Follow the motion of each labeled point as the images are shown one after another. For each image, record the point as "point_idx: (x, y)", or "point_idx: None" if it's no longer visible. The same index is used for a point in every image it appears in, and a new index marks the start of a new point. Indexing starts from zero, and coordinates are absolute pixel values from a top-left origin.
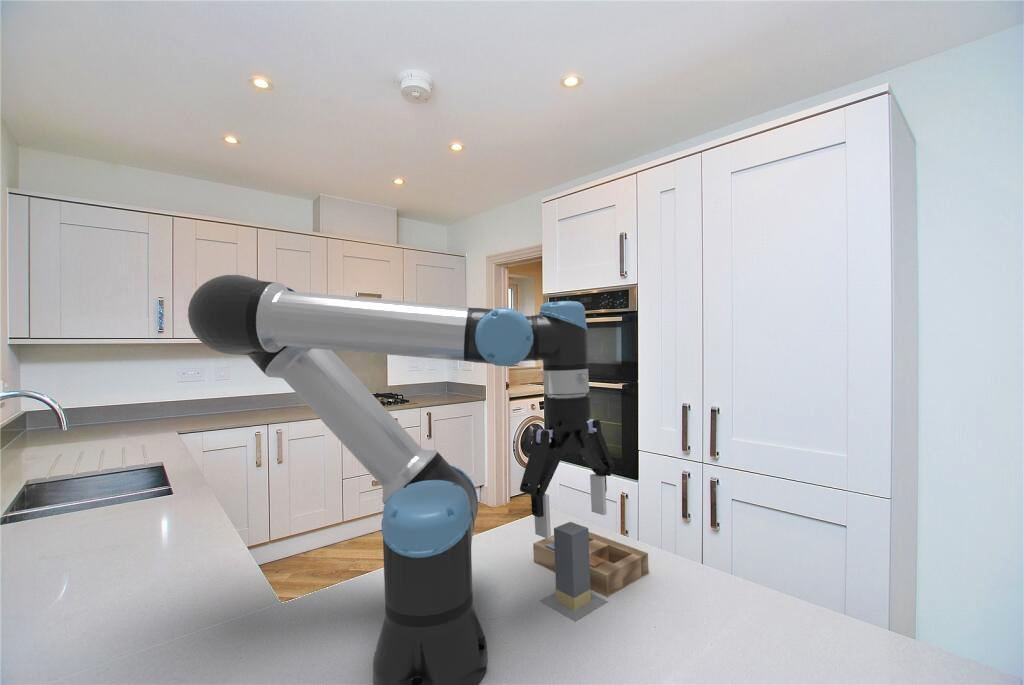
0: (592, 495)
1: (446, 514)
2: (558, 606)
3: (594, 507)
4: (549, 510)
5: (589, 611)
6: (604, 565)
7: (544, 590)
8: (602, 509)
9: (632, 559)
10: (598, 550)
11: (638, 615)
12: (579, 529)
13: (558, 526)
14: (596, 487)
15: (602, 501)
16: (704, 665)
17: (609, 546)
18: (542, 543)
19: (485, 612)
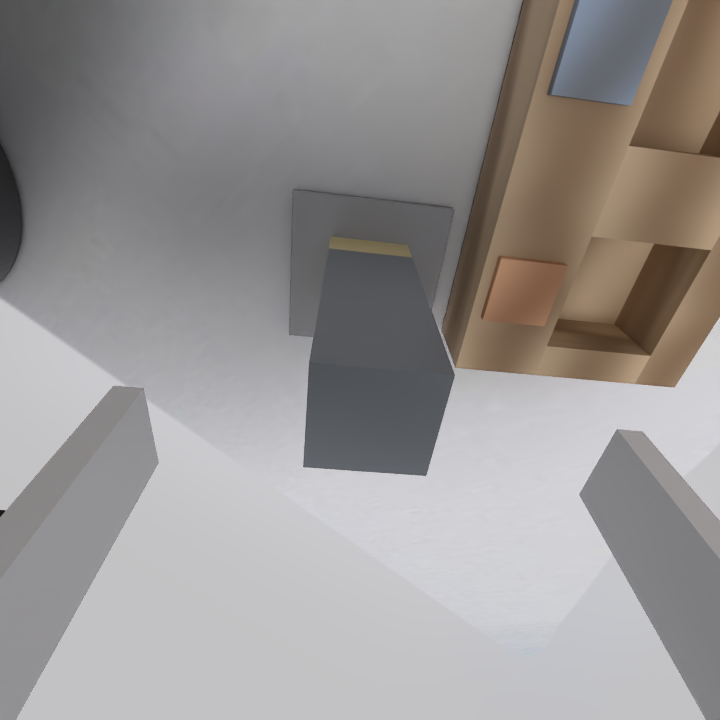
0: (678, 529)
1: None
2: (312, 260)
3: (622, 471)
4: (74, 610)
5: None
6: (518, 330)
7: (377, 137)
8: (597, 515)
9: (604, 374)
10: (645, 241)
11: None
12: (383, 459)
13: (347, 367)
14: (706, 627)
15: (620, 563)
16: (354, 520)
17: (704, 254)
18: None
19: (113, 58)
